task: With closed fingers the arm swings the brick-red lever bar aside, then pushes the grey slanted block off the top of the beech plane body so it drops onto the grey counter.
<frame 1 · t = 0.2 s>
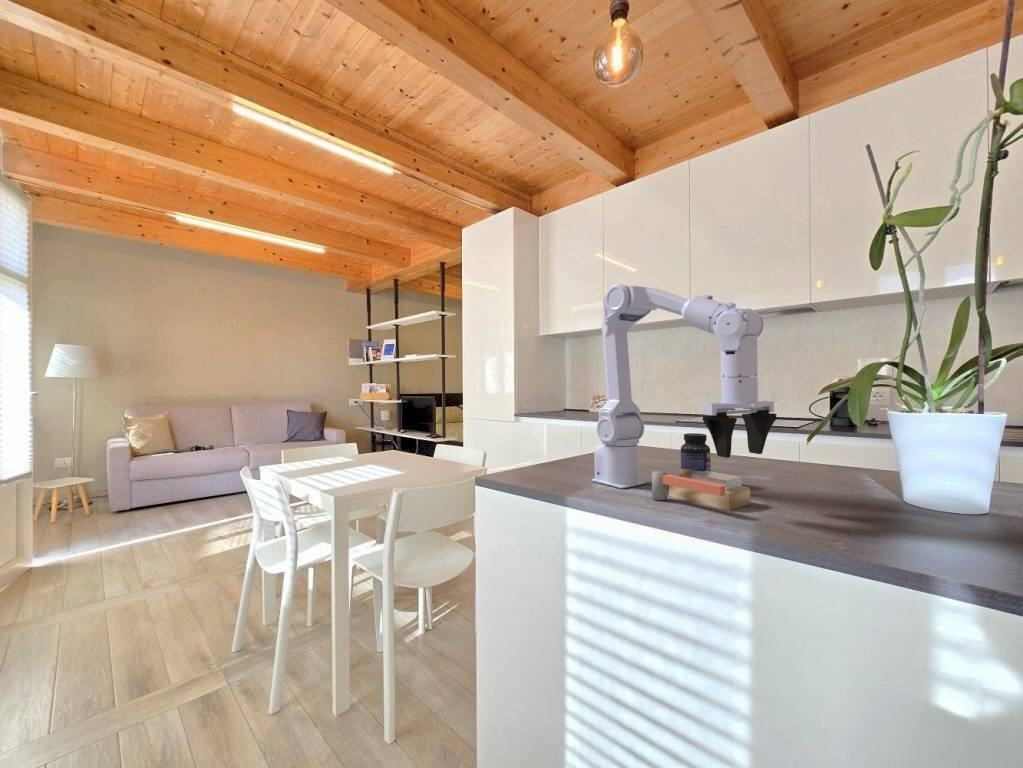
hand: (739, 455, 77), 10 cm above the table, fingers open, 7 cm apart
pill bottle: (695, 484, 98), on the table
lever: (685, 491, 81), point 3 cm above the table, hinge at 0.0°
plane body: (707, 499, 85), on the table
grey slanted block: (716, 485, 83), point 3 cm above the table, touching plane body
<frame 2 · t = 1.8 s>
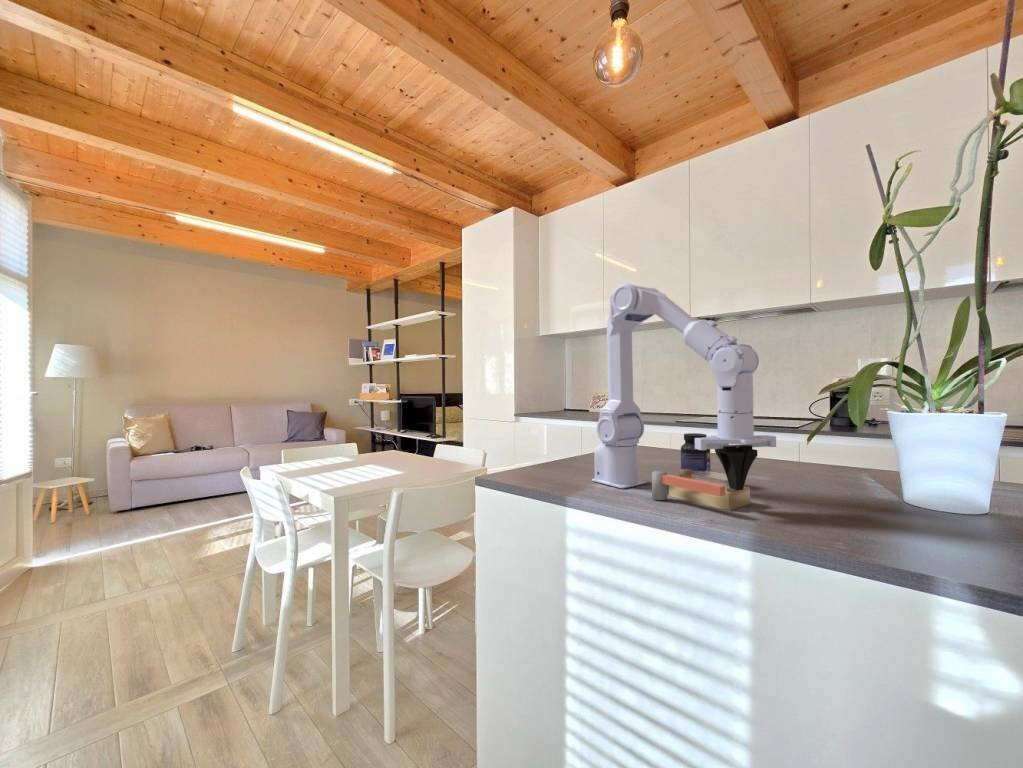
hand: (736, 488, 78), 4 cm above the table, fingers closed
grey slanted block: (716, 485, 83), point 3 cm above the table, touching gripper, plane body
everything else where it was.
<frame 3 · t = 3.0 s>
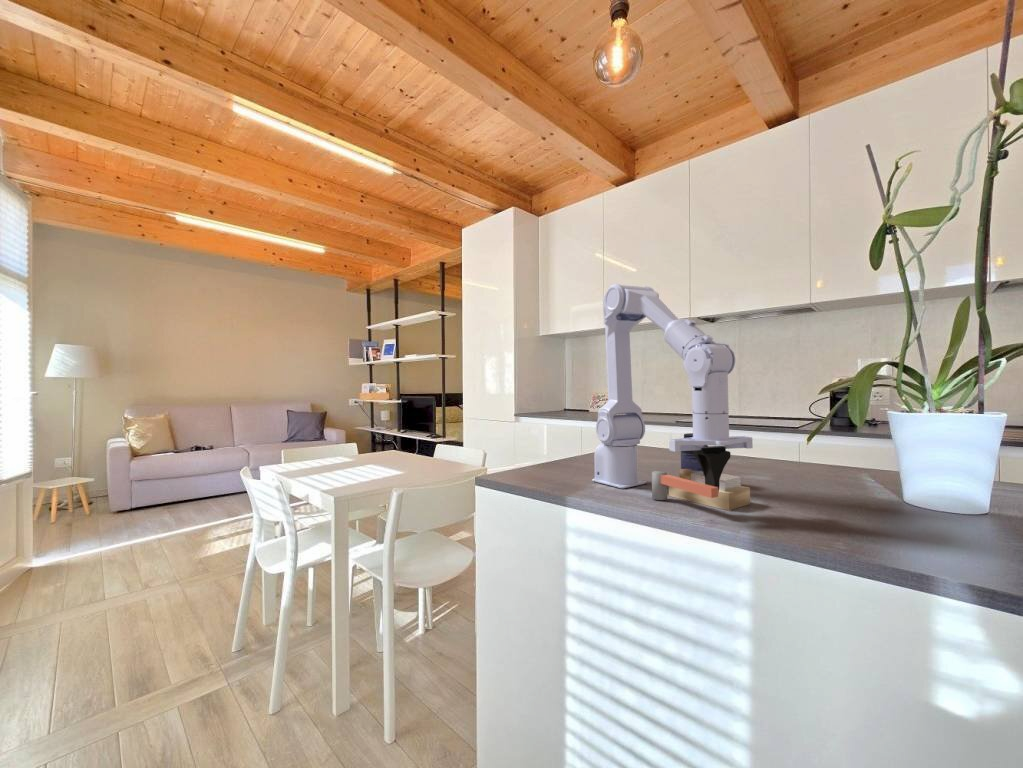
hand: (712, 491, 76), 4 cm above the table, fingers closed, pressing on lever
lever: (682, 492, 80), point 3 cm above the table, hinge at 9.2°, touching gripper
grey slanted block: (715, 485, 83), point 3 cm above the table, touching plane body
everything else where it was.
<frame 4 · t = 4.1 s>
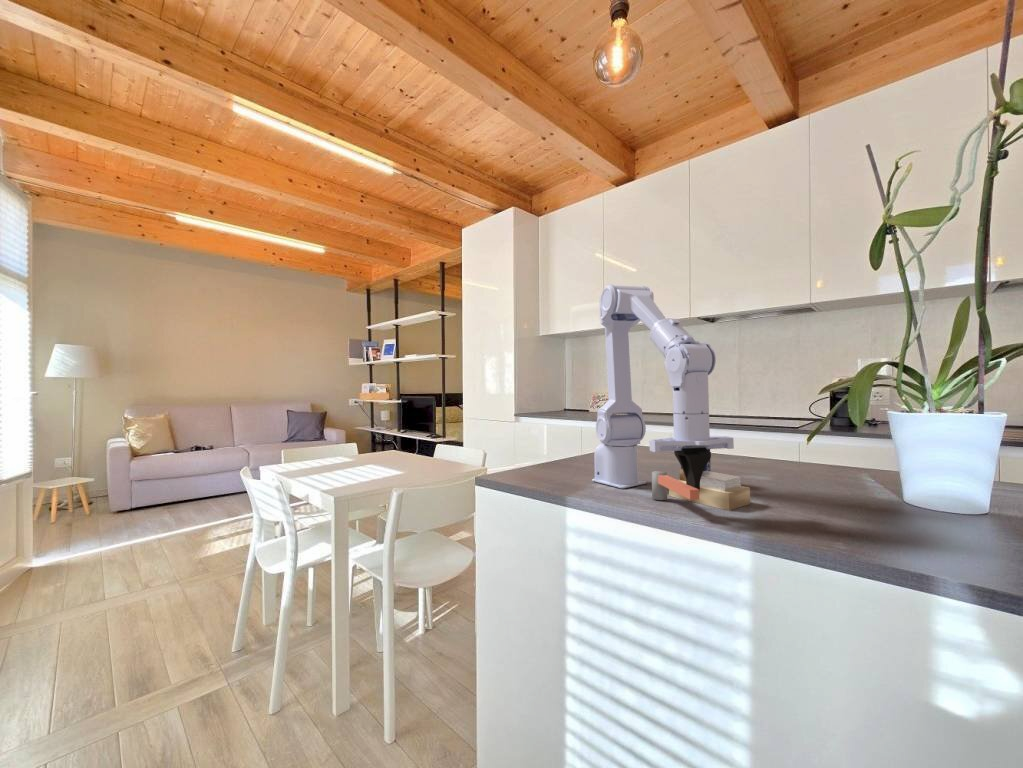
hand: (692, 492, 75), 4 cm above the table, fingers closed, pressing on lever
lever: (673, 492, 80), point 3 cm above the table, hinge at 26.9°, touching gripper
everything else where it was.
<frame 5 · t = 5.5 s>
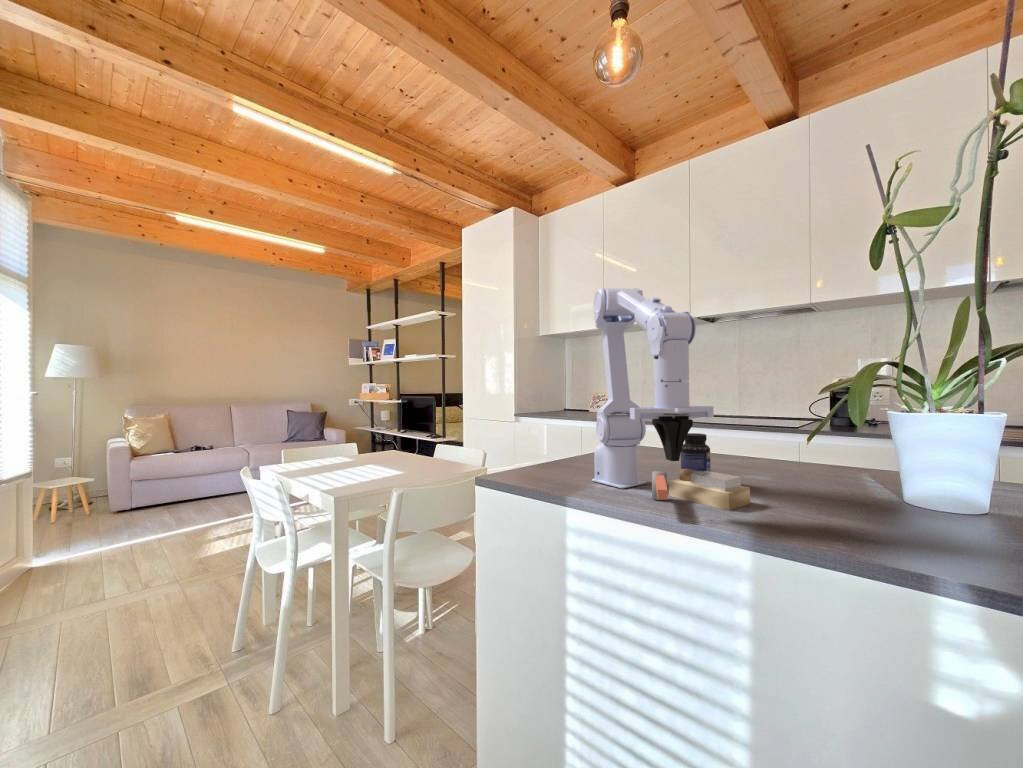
hand: (672, 460, 76), 9 cm above the table, fingers closed
lever: (660, 492, 80), point 3 cm above the table, hinge at 49.9°
everything else where it was.
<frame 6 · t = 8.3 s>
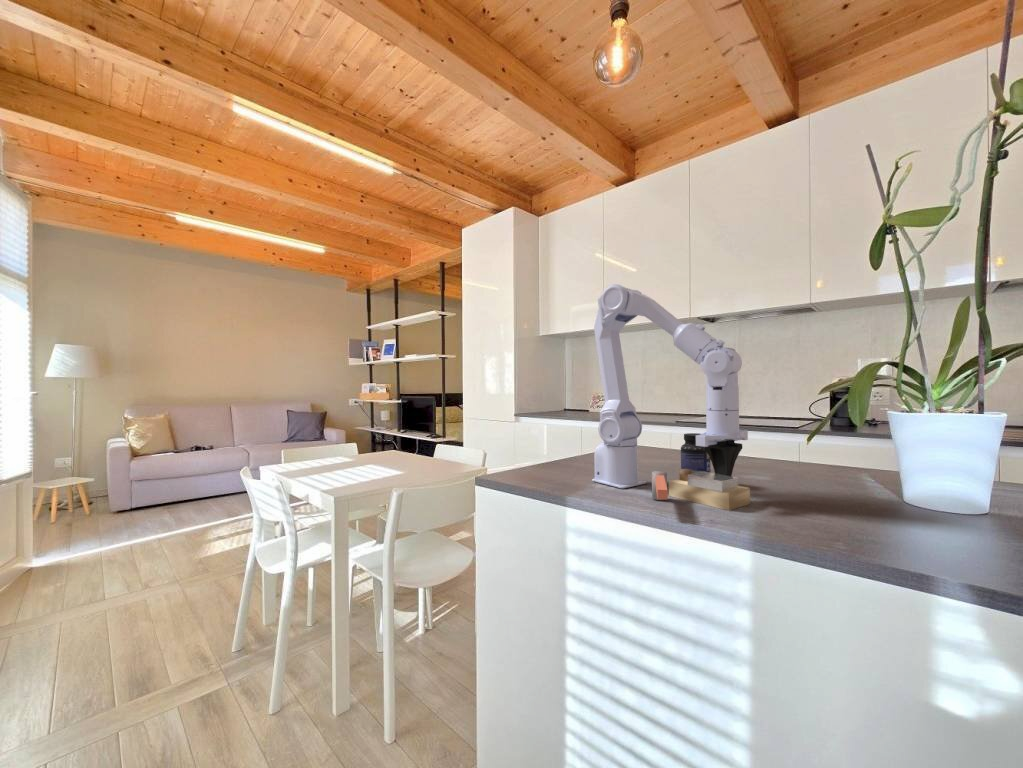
hand: (723, 480, 84), 4 cm above the table, fingers closed
grey slanted block: (712, 486, 83), point 3 cm above the table, touching gripper, plane body
everything else where it was.
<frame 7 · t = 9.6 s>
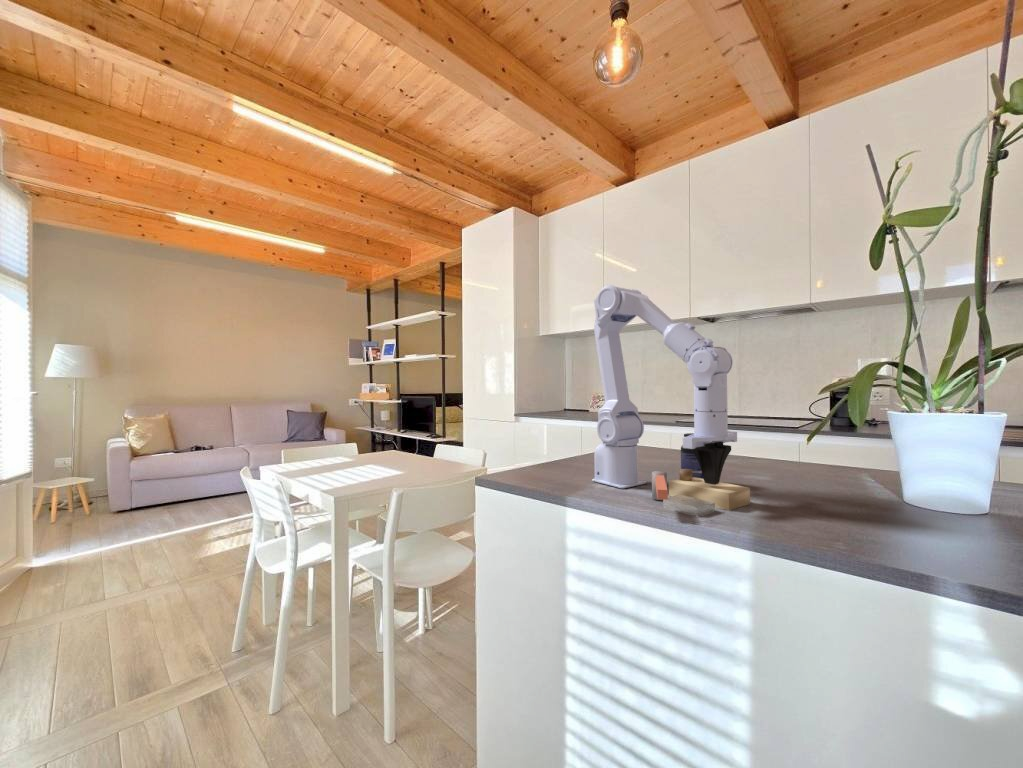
hand: (711, 483, 82), 4 cm above the table, fingers closed
grey slanted block: (688, 500, 79), point 2 cm above the table, tilted 180°
everything else where it was.
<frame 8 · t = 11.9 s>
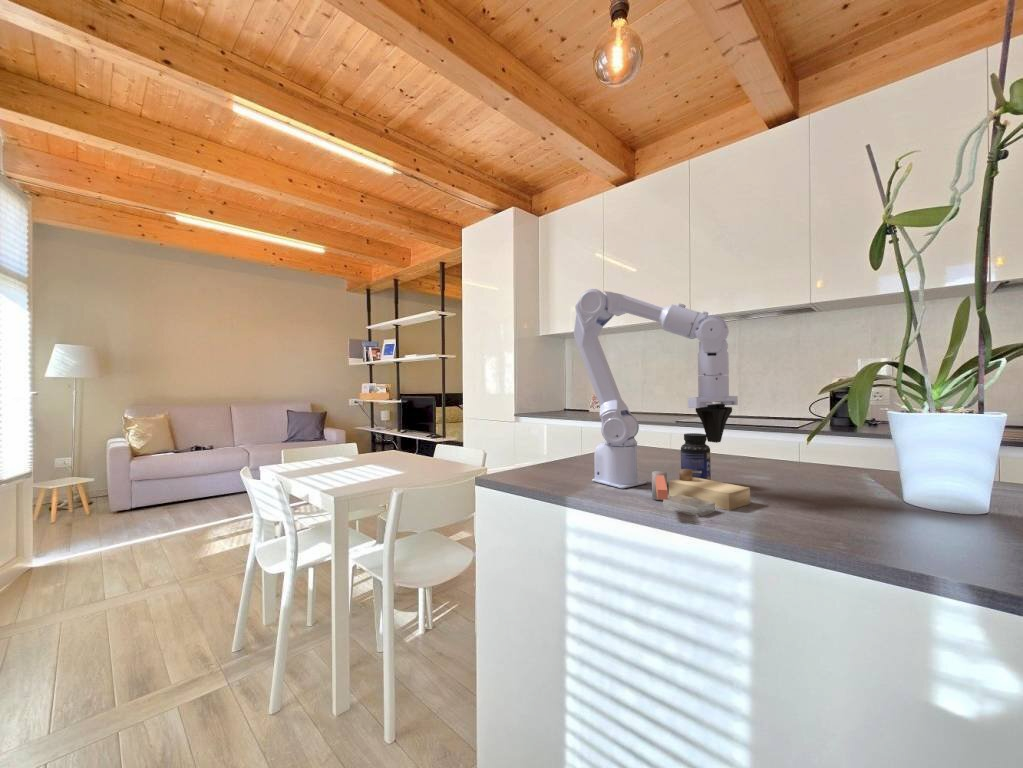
hand: (714, 441, 90), 10 cm above the table, fingers closed
nothing on the table moved.
at the end: lever at +50° (first picture: +0°); grey slanted block inside the target area (1.8 cm from its centre), point 1.5 cm above the table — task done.
